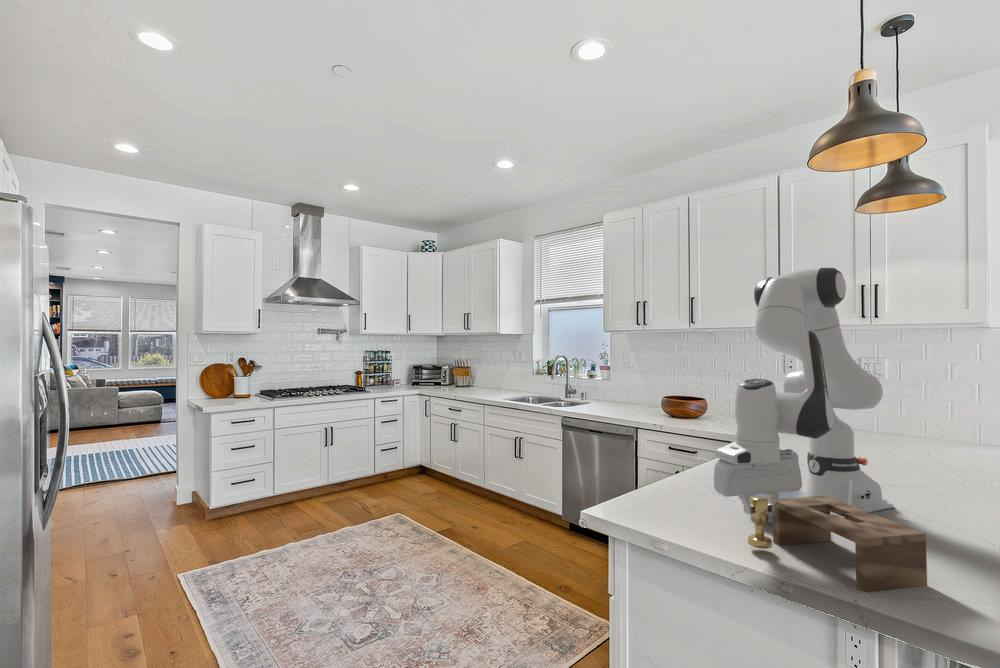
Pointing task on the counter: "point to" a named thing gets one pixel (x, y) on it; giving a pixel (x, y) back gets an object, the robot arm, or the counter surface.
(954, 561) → the counter surface
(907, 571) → the keyhole shelf
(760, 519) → the brass peg
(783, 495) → the chinaware
